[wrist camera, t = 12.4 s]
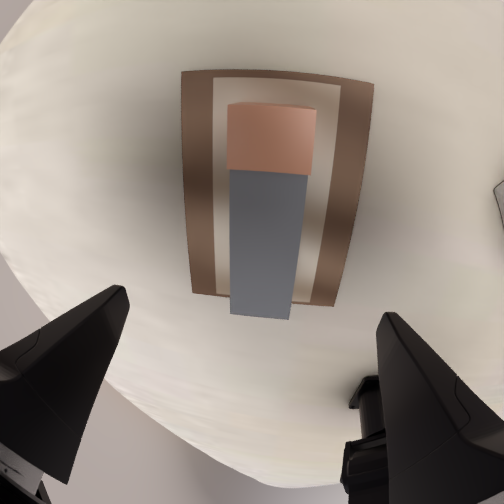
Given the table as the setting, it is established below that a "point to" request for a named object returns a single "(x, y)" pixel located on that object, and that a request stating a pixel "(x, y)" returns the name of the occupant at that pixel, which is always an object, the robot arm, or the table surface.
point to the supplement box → (500, 198)
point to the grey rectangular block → (266, 202)
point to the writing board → (319, 182)
